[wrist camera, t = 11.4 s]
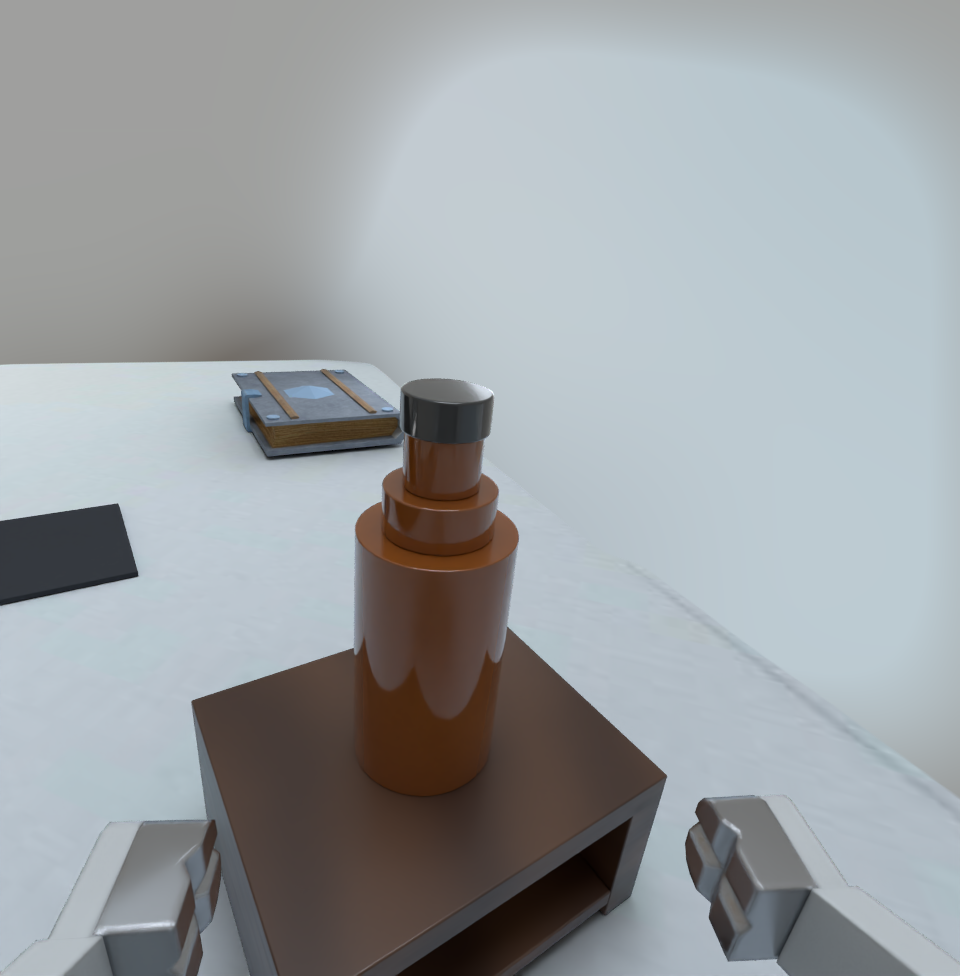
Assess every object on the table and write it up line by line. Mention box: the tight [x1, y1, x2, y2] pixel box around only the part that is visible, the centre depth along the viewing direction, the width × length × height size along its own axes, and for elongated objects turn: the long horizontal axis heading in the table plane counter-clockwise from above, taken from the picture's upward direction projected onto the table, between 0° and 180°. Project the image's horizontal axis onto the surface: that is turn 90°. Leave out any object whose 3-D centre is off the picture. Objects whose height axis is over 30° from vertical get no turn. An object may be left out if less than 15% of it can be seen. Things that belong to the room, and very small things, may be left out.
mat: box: [0, 504, 138, 605], centre depth 43 cm, size 14×12×1 cm
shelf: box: [191, 627, 667, 976], centre depth 24 cm, size 14×12×7 cm
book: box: [232, 369, 404, 457], centre depth 74 cm, size 21×16×5 cm
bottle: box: [353, 379, 519, 796], centre depth 20 cm, size 5×5×14 cm
